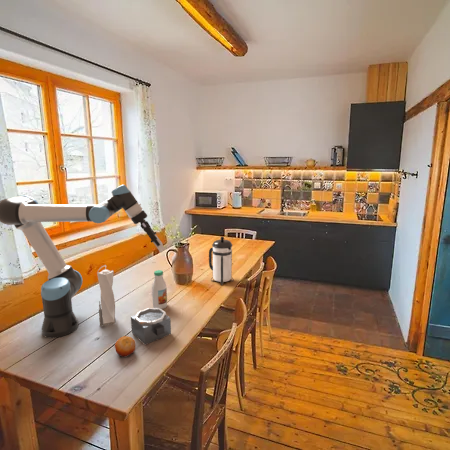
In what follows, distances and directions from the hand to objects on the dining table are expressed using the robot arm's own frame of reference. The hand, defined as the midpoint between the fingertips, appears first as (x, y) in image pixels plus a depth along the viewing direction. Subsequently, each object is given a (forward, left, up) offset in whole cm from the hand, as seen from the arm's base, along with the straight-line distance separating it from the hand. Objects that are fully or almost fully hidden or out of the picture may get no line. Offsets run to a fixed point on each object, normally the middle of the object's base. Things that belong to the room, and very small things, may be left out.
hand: (161, 248), depth 159 cm
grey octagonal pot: (-16, -17, -34) cm, 41 cm away
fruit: (-32, -23, -34) cm, 52 cm away
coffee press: (+49, +11, -34) cm, 60 cm away
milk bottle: (0, +5, -34) cm, 34 cm away
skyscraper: (-27, +8, -34) cm, 44 cm away
